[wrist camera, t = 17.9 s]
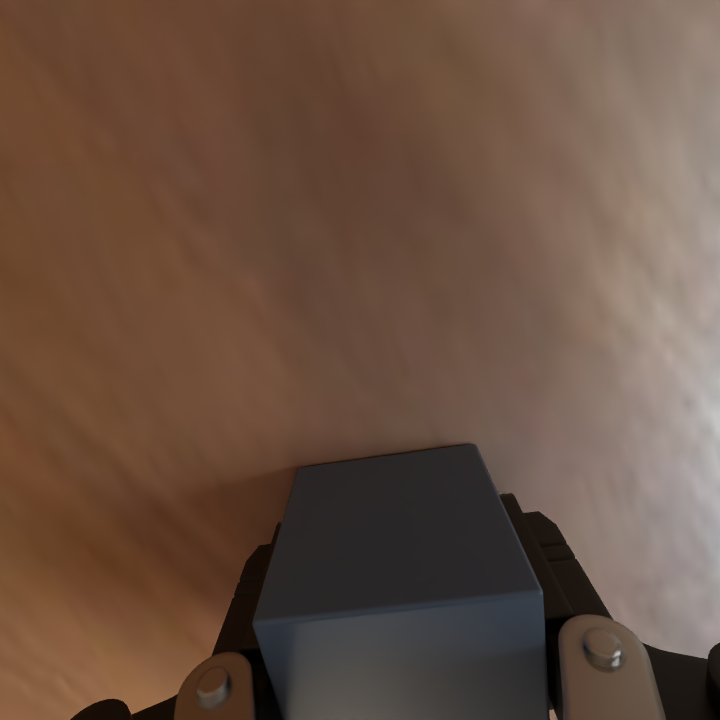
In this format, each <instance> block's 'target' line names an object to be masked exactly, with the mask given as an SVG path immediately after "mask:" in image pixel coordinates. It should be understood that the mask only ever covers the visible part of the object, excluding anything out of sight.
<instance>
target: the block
mask: <svg viewBox="0 0 720 720" xmlns="http://www.w3.org/2000/svg"><path fill="white" fill-rule="evenodd" d="M252 624H253V629H254V632H255V635H256V638H257V641H258V644H259V647H260V650H261V654H262V657H263V660H264V663H265V666H266V669H267V672H268V675H269V678H270V682H271V685H272V688H273V691H274V694H275V697H276V700H277V703H278V706H279V709H280V713H281V716H282V719H283V720H550V715H549V696H548V678H547V659H546V640H545V621H544V602H543V591H542V589H541V586H540V584H539V582H538V580H537V578H536V575H535V573H534V571H533V569H532V567H531V564H530V562H529V560H528V558H527V556H526V553H525V551H524V549H523V547H522V545H521V543H520V540H519V538H518V536H517V534H516V532H515V529H514V527H513V525H512V523H511V521H510V518H509V516H508V514H507V512H506V510H505V508H504V505H503V503H502V501H501V499H500V497H499V494H498V492H497V490H496V488H495V486H494V483H493V481H492V479H491V477H490V475H489V473H488V470H487V468H486V466H485V464H484V462H483V459H482V457H481V455H480V453H479V451H478V448H477V446H476V445H475V444H469V445H462V446H454V447H447V448H440V449H433V450H425V451H418V452H411V453H403V454H396V455H389V456H381V457H374V458H367V459H359V460H352V461H345V462H337V463H330V464H323V465H315V466H308V467H301V468H298V469H297V473H296V476H295V479H294V483H293V486H292V490H291V493H290V496H289V500H288V503H287V507H286V510H285V513H284V517H283V520H282V523H281V527H280V530H279V534H278V537H277V540H276V544H275V547H274V551H273V554H272V557H271V561H270V564H269V568H268V571H267V574H266V578H265V581H264V585H263V588H262V591H261V595H260V598H259V601H258V605H257V608H256V612H255V615H254V618H253V623H252Z"/></svg>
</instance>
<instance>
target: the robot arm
mask: <svg viewBox="0 0 720 720" xmlns="http://www.w3.org/2000/svg"><path fill="white" fill-rule="evenodd" d="M499 497H500V499H501V501H502V503H503V505H504V508H505V510H506V512H507V514H508V516H509V518H510V521H511V523H512V525H513V527H514V529H515V532H516V534H517V536H518V538H519V540H520V543H521V545H522V547H523V549H524V551H525V553H526V556H527V558H528V560H529V562H530V564H531V567H532V569H533V571H534V573H535V575H536V578H537V580H538V582H539V584H540V586H541V589H542V591H543V602H544V621H545V640H546V659H547V678H548V696H549V710H552V709H554V711H555V714H556V716H557V719H558V720H720V643H718V644H717V645H715V646H714V647H713V648H712V649H711V650H710V653H709V655H708V659H704V658H698V657H693V656H688V655H683V654H677V653H672V652H667V651H663V650H659V649H657V648H654V647H651V646H649V645H647V644H644V643H642V642H641V641H640V640H639V638H638V637H637V636H636V635H635V634H634V633H633V632H632V631H630V630H629V629H628V628H627V627H625V626H623V625H622V624H620V623H619V622H616V621H614V620H613V618H612V617H611V615H610V614H609V612H608V611H607V609H606V607H605V606H604V604H603V602H602V601H601V599H600V597H599V596H598V594H597V592H596V591H595V589H594V587H593V586H592V584H591V582H590V581H589V579H588V577H587V576H586V574H585V572H584V571H583V569H582V567H581V566H580V564H579V562H578V561H577V559H575V556H574V554H573V552H572V550H571V549H570V547H569V545H567V544H566V540H565V539H564V537H563V535H562V534H561V532H560V530H559V529H558V527H557V525H556V524H555V523H553V522H552V521H551V520H549V519H548V518H547V517H545V516H544V515H543V514H542V513H540V512H539V511H538V512H530V513H523V512H522V510H521V508H520V506H519V504H518V502H517V500H516V498H515V496H514V495H513V494H512V493H509V494H501V495H499ZM281 523H282V522H279V523H278V524H277V526H276V529H275V532H274V535H273V539H272V542H271V544H266V545H259V546H258V548H257V549H256V550H255V551H254V552H253V554H252V555H251V556H250V557H249V558H248V560H247V561H246V563H245V566H244V568H243V571H242V574H241V577H240V583H238V585H237V588H236V590H235V593H234V598H233V599H232V601H231V604H230V607H229V610H228V612H227V615H226V618H225V621H224V623H223V626H222V629H221V632H220V634H219V637H218V640H217V643H216V645H215V648H214V651H213V654H212V656H211V657H210V658H208V659H206V660H205V661H203V662H202V663H201V664H199V665H198V666H197V667H196V668H195V669H194V670H193V671H192V672H191V673H190V674H189V675H188V676H187V678H186V679H185V681H184V682H183V684H182V686H181V688H180V690H179V692H178V694H177V695H175V696H174V697H172V698H169V699H167V700H165V701H163V702H160V703H158V704H156V705H153V706H151V707H149V708H146V709H144V710H142V711H139V712H137V713H135V714H132V715H131V713H130V711H129V709H128V707H127V705H126V704H125V703H124V702H123V701H120V700H117V699H107V700H103V701H99V702H97V703H94V704H92V705H90V706H88V707H87V708H85V709H83V710H82V711H80V712H79V713H78V714H76V715H75V716H74V717H73V718H71V719H70V720H283V719H282V716H281V713H280V709H279V706H278V703H277V700H276V697H275V694H274V691H273V688H272V685H271V682H270V678H269V675H268V672H267V669H266V666H265V663H264V660H263V657H262V654H261V650H260V647H259V644H258V641H257V638H256V635H255V632H254V629H253V624H252V623H253V618H254V615H255V612H256V608H257V605H258V601H259V598H260V595H261V591H262V588H263V585H264V581H265V578H266V574H267V571H268V568H269V564H270V561H271V557H272V554H273V551H274V547H275V544H276V540H277V537H278V534H279V530H280V527H281Z"/></svg>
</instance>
